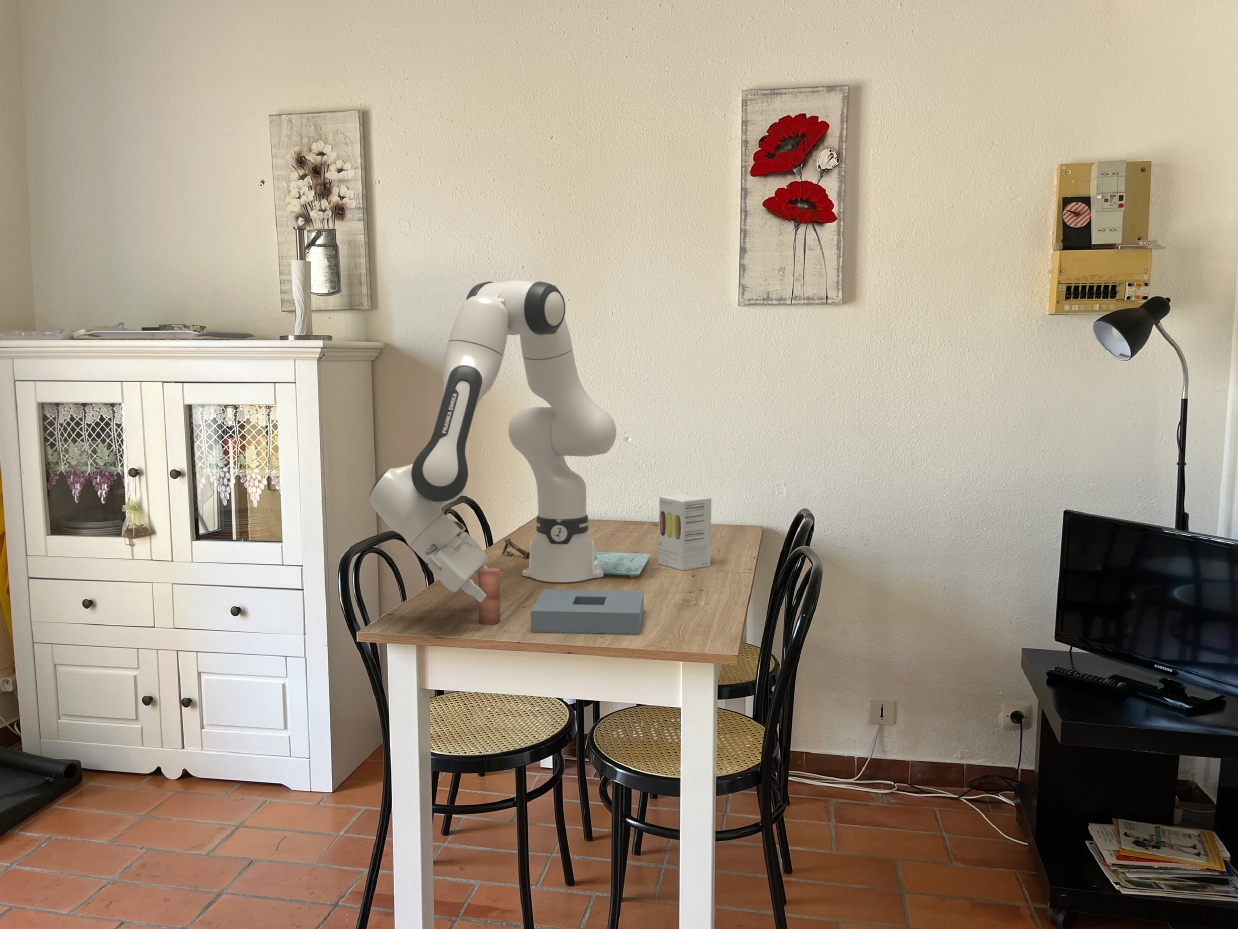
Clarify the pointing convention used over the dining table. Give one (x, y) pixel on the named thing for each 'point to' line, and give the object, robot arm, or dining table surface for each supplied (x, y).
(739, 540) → the dining table surface
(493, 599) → the pin
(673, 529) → the supplement box
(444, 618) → the dining table surface
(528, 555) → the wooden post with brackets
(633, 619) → the socket block
